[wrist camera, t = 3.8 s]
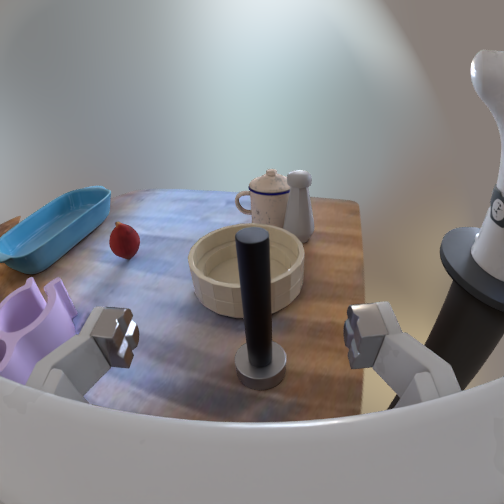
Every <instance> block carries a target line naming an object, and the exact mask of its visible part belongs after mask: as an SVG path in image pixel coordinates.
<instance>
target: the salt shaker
mask: <svg viewBox="0 0 504 504" xmlns="http://www.w3.org/2000/svg"><path fill="white" fill-rule="evenodd" d="M311 181H312V178H311V174H310V173H309V172H307V171H303V170H295V171H291V172H289V173H288V175H287V184H288V185H289V186H290V192H289V197H288V203H287V208H286V214H285V219H284V225H283V229H285V230H287V231H289V232H290V233H292V234H294V235H295V236H296V237H297V238H298V239H299V240H300V241H301V243H304V242H307V241H308V239H309V238H310V236H311V235H312V233H313V232H314V221H313V214H312V208H311V201H310V195H309V188H308V187H309V186H310V185H311Z"/></svg>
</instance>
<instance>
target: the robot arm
mask: <svg viewBox="0 0 504 504" xmlns="http://www.w3.org/2000/svg"><path fill="white" fill-rule="evenodd" d="M471 80H472V83H473V86H474V89H475V91H476V92H477V94H478V96H479V97H480V98H481V100H482V101H483V102H484V103H485V104H486V106H487V107H488V108H489V110H490V111H491V113H492V115H493V116H494V118H495V120H496V123H497V125H498V128H499V132H500V137H501V162H500V170H499V175H498V181H497V184H496V185H495V186H494V189H493V192H492V197H491V207H489V209H488V211H487V214H486V217H485V219H484V222H483V224H482V227H481V229H480V232H479V233H477V234H476V236H475V242H474V244H473V246H472V248H471V254H472V256H473V258H474V260H475V261H476V262H477V264H478V265H479V266H480V267H481V268H482V269H483V270H485V271H486V272H487V273H489V274H490V275H492V276H493V277H495V278H497V279H499V280H501V281H503V282H504V52H501V51H492V50H481V51H479V52H478V53H477V54H476V55H475V57H474V59H473V61H472V64H471ZM347 315H348V319H347V320H346V321H345V324H344V342H345V346H346V347H348V348H349V352H348V359H349V363H350V367H351V369H360V368H369V367H373V369H374V370H375V371H376V372H377V374H378V375H379V376H380V377H381V378H382V379H383V380H384V381H385V382H386V383H387V384H388V385H389V386H390V387H391V388H392V389H393V390H394V391H395V392H396V393H397V395H398V396H399V397H400V400H399V401H398V403H397V404H396V406H395V407H394V409H390V410H385V411H379V412H373V413H367V414H361V415H354V416H346V417H338V418H329V419H319V420H306V421H290V422H215V421H198V420H186V419H176V418H167V417H158V416H151V415H144V414H138V413H132V412H126V411H120V410H115V409H110V408H105V407H100V406H96V405H91V404H89V402H88V401H87V400H86V399H85V398H84V397H83V396H84V395H85V394H86V393H87V391H88V390H89V389H90V388H91V387H92V386H93V385H94V384H95V383H96V382H97V381H98V380H99V379H100V378H101V377H102V376H103V375H104V374H105V373H106V372H107V371H108V370H109V369H110V368H111V367H119V368H129V367H130V365H131V362H132V359H133V356H134V355H133V352H132V350H133V349H135V348H136V347H137V345H138V342H139V329H138V326H137V324H136V323H135V322H134V321H132V320H131V319H132V317H133V315H132V312H131V310H130V309H127V308H115V307H99V306H96V307H95V308H93V310H92V312H91V313H90V315H89V317H88V319H87V320H86V322H85V324H84V326H83V328H82V330H81V332H80V333H79V335H77V334H76V335H74V336H73V337H72V338H70V339H69V340H67V341H66V342H65V343H63V344H62V345H60V346H59V347H58V348H56V349H55V350H54V351H52V352H51V353H49V354H48V355H47V356H45V357H44V358H43V359H41V360H40V361H38V362H37V363H36V365H35V367H34V369H33V371H32V373H31V375H30V377H29V379H28V381H27V383H26V385H23V384H20V383H17V382H15V381H12V380H9V379H7V378H4V377H2V376H0V504H504V376H503V377H501V378H498V379H496V380H493V381H490V382H488V383H485V384H482V385H479V386H476V387H474V388H471V389H468V390H464V391H461V389H460V386H459V384H458V381H457V379H456V377H455V374H454V372H453V370H452V367H451V365H450V364H448V363H447V362H446V361H444V360H443V359H442V358H440V357H439V356H438V355H436V354H435V353H434V352H432V351H431V350H429V349H428V348H427V347H425V346H424V345H423V344H421V343H420V342H419V341H417V340H416V339H414V338H413V337H412V336H410V335H409V334H408V333H403V332H402V330H401V328H400V325H399V323H398V321H397V319H396V316H395V314H394V312H393V310H392V308H391V305H390V303H389V302H377V303H367V304H355V305H349V307H348V310H347Z"/></svg>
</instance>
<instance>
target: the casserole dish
mask: <svg viewBox="0 0 504 504" xmlns="http://www.w3.org/2000/svg"><path fill="white" fill-rule="evenodd" d="M110 197H111V191H110V190H108V189H105V188H104V187H103V186H91V187H86V188H82V189H78V190H73V191H70V192H68V193H65V194H63V195H61V196H59V197H58V198H56V199H54V200H53V201H51V202H49V203H48V204H46V205H45V206H43V207H42V208H40V209H39V210H37V211H36V212H34V213H33V214H31V215H30V216H28V217H27V218H26V219H24V220H23V221H21V222H20V223H18V224H17V225H16V226H14V227H13V228H12V229H10V230H9V231H8V232H6V233H5V234H4V235H3V236H2V237H1V238H0V263H5V264H6V265H7V266H9V267H10V268H12V269H15V270H17V271H20V272H22V273H25V274H37V273H40V272H42V271H44V270H45V269H47V268H48V267H50V266H51V265H52V264H53V263H55V262H56V261H57V260H58V259H60V258H61V257H62V256H63V255H64V254H65V253H67V252H68V251H69V250H70V249H71V248H73V247H74V246H75V245H76V244H77V243H78V242H80V241H81V240H82V239H83V238H84V237H86V236H87V235H88V234H89V233H91V232H92V231H93V230H94V229H95V228H97V227H98V226H99V225H100V224H101V223H102V222H103V221H104V220H105V219H106V217H107V216H108V214H109V210H110Z"/></svg>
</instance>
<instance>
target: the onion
mask: <svg viewBox="0 0 504 504" xmlns="http://www.w3.org/2000/svg"><path fill="white" fill-rule="evenodd" d="M115 224H116V227H115V228H114V230H113V231H112V233H111V235H110V242H109V243H110V248H111V250H112V251H113V253H114V254H115V255H117V256H119V257H122V258H125V259H128V260H129V259H131V258H132V257H133V256H134V255H135V254H136V253H137V251H138V249H139V245H140V238H139V235H138V233H137V232H136V231H135V230H134V229H133V228H132V227H130V226H129V225H126V224H123V223H120V222H116V223H115Z"/></svg>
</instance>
